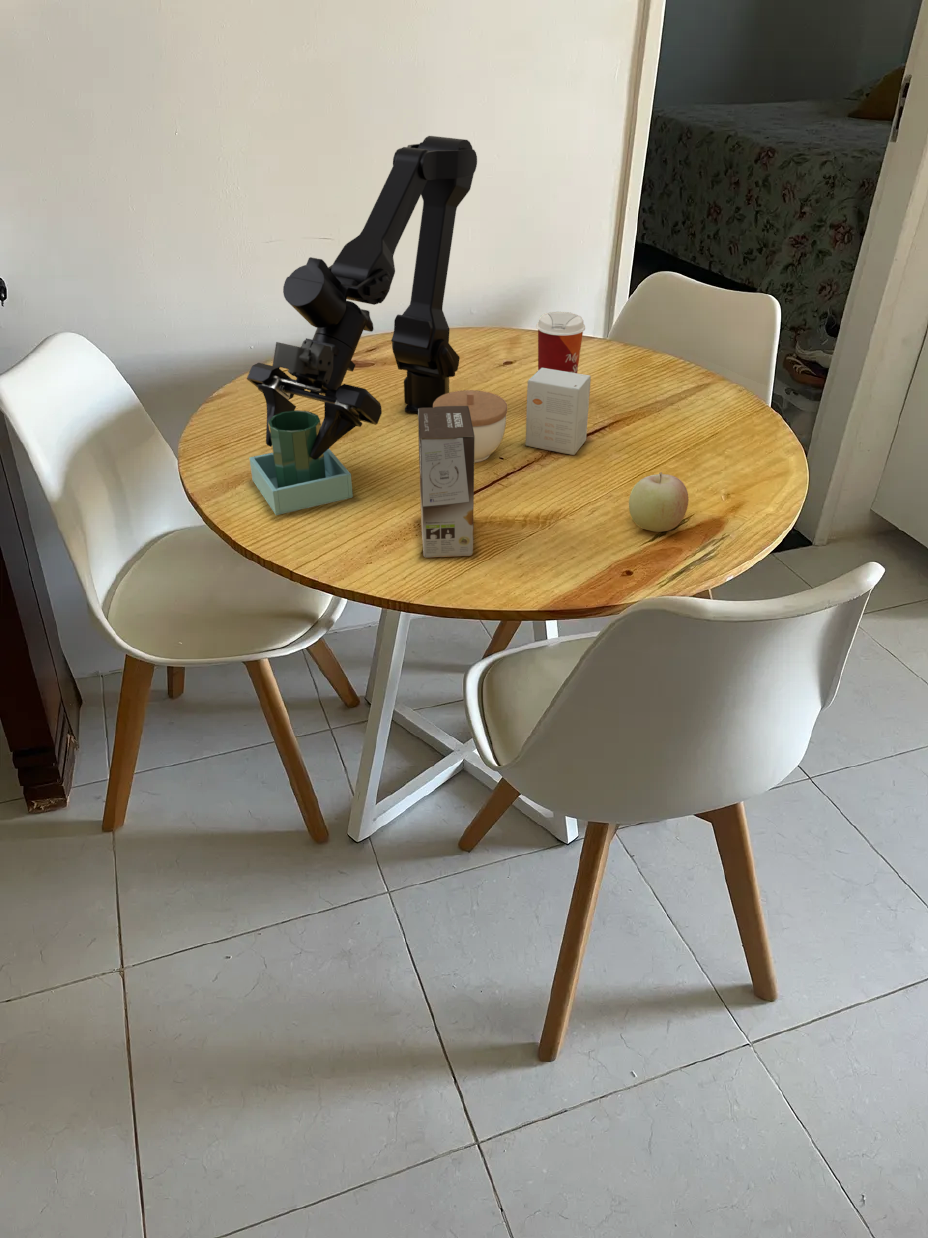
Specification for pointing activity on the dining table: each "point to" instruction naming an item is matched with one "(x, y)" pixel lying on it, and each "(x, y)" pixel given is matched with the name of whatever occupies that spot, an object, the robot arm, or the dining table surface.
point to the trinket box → (480, 418)
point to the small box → (557, 410)
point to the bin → (301, 485)
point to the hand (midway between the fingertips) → (290, 451)
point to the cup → (295, 447)
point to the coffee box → (446, 480)
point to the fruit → (658, 502)
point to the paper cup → (559, 341)
